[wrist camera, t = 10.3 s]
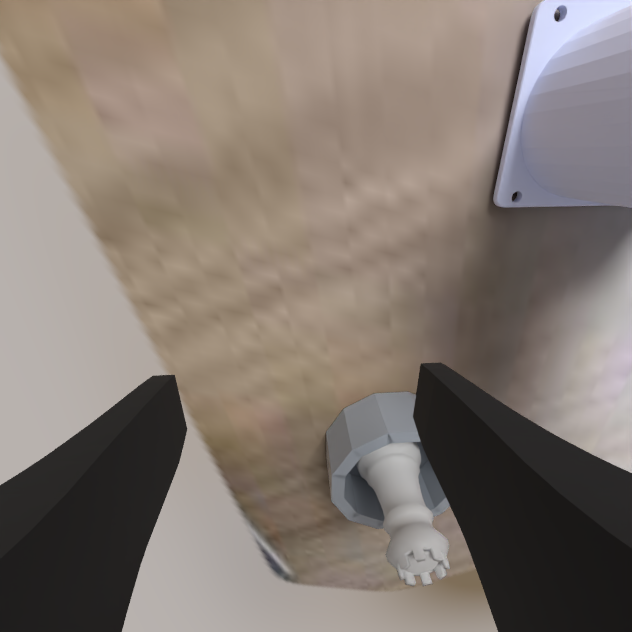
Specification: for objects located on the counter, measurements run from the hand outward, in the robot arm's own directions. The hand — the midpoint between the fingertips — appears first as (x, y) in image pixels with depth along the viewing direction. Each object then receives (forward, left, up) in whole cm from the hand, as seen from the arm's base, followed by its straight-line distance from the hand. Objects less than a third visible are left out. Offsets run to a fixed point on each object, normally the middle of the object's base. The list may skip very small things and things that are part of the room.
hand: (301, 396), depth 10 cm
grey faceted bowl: (-6, +12, -9) cm, 16 cm away
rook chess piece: (-6, +12, -9) cm, 16 cm away
